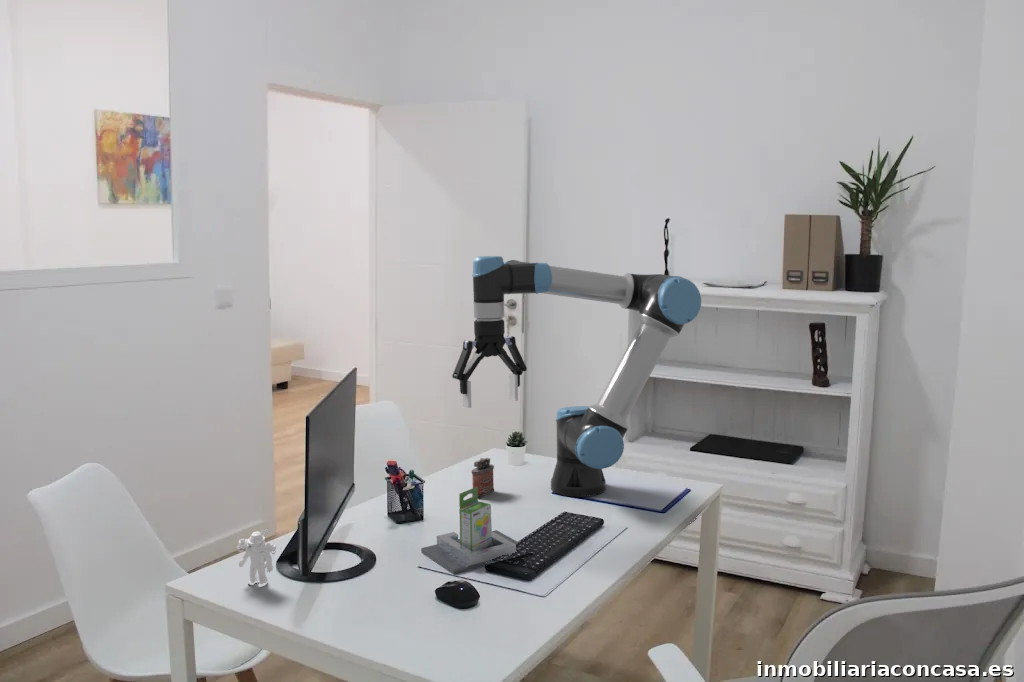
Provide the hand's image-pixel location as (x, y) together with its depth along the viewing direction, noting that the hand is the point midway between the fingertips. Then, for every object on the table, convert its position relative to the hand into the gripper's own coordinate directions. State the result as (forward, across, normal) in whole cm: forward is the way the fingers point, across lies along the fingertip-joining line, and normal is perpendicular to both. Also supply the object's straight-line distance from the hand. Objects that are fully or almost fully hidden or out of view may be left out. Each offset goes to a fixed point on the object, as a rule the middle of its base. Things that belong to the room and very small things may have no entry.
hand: (490, 403), depth 222 cm
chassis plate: (+29, +17, +20) cm, 39 cm away
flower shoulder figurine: (+29, +63, +9) cm, 70 cm away
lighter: (+29, -6, -15) cm, 33 cm away
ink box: (+28, +17, +20) cm, 39 cm away
